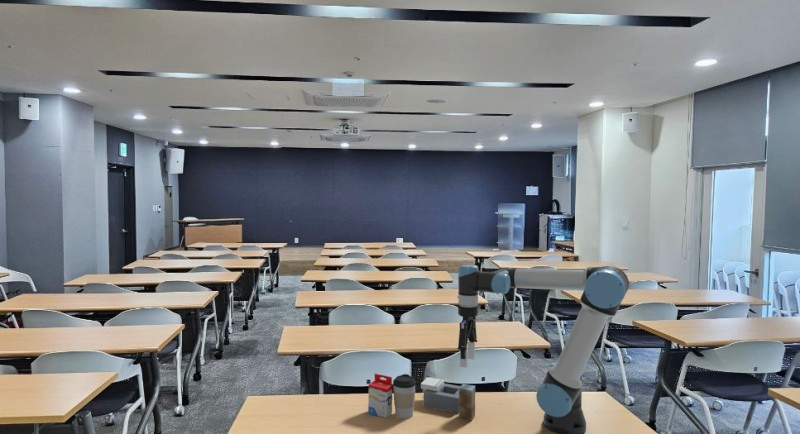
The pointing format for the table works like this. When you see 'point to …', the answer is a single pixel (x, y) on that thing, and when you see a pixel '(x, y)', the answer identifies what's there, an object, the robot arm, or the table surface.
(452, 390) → the socket block
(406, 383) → the coffee cup
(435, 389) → the lid
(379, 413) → the ink box
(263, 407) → the table surface
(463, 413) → the plug
